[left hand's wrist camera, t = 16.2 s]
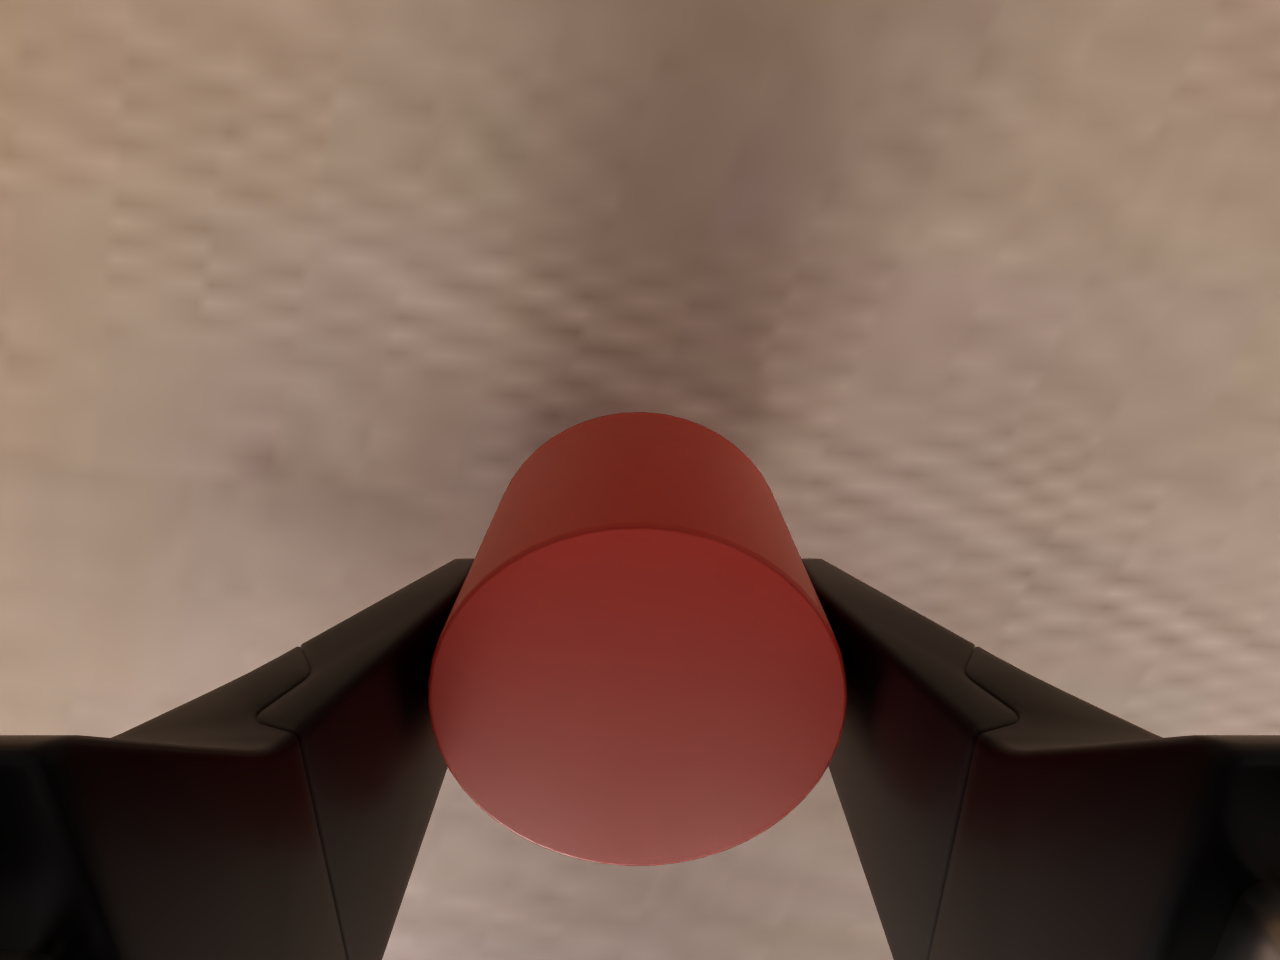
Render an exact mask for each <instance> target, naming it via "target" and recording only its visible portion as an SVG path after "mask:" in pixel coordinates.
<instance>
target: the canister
mask: <svg viewBox="0 0 1280 960" xmlns="http://www.w3.org/2000/svg"><path fill="white" fill-rule="evenodd" d="M428 705H429V711H430V717H431V724H432V729H433V732H434V735H435V738H436V741H437V744H438V747H439V750H440V752H441V754H442V756H443V758H444V760H445V762H446V764H447V766H448V768H449V770H450V771H451V773H452V774H453V776H454V777H455V778H456V780H457V781H458V783H459V784H460V786H461V787H462V788H463V790H464V791H465V792H466V793H467V794H468V795H469V796H470V797H471V798H472V799H473V801H474V802H475V803H476V804H477V805H478V806H479V807H480V808H482V809H483V810H484V811H485V812H486V813H487V814H489V815H490V816H491V817H492V818H493V819H494V820H496V821H497V822H499V823H500V824H502V825H503V826H505V827H506V828H508V829H509V830H511V831H512V832H514V833H515V834H517V835H519V836H521V837H523V838H525V839H527V840H529V841H531V842H533V843H534V844H537V845H539V846H542V847H544V848H547V849H549V850H552V851H554V852H557V853H560V854H564V855H567V856H571V857H574V858H578V859H581V860H587V861H593V862H598V863H604V864H615V865H627V866H643V865H662V864H670V863H679V862H684V861H689V860H693V859H698V858H703V857H706V856H709V855H712V854H715V853H718V852H721V851H725V850H727V849H729V848H732V847H734V846H736V845H739V844H741V843H743V842H745V841H748V840H749V839H751V838H753V837H755V836H756V835H758V834H760V833H762V832H763V831H765V830H767V829H769V828H770V827H771V826H773V825H774V824H775V823H777V822H778V821H779V820H781V819H782V818H784V817H785V816H786V815H788V814H789V813H790V812H791V811H792V810H793V809H794V808H795V807H796V806H797V805H798V804H799V803H800V802H801V801H802V800H804V798H805V797H806V796H807V795H808V794H809V792H810V791H811V790H812V789H813V788H814V786H815V785H816V784H817V783H818V781H819V780H820V778H821V777H822V775H823V773H824V772H825V770H826V768H827V767H828V765H829V764H830V762H831V759H832V757H833V755H834V752H835V750H836V748H837V746H838V743H839V740H840V736H841V733H842V729H843V725H844V721H845V715H846V705H847V682H846V672H845V667H844V663H843V658H842V654H841V650H840V648H839V645H838V643H837V640H836V638H835V635H834V633H833V630H832V628H831V626H830V623H829V621H828V619H827V617H826V614H825V612H824V610H823V607H822V605H821V603H820V601H819V598H818V596H817V594H816V592H815V589H814V587H813V585H812V582H811V580H810V578H809V576H808V573H807V571H806V569H805V567H804V564H803V562H802V560H801V557H800V555H799V553H798V551H797V548H796V546H795V544H794V541H793V539H792V537H791V535H790V532H789V530H788V528H787V526H786V523H785V521H784V519H783V516H782V514H781V512H780V510H779V507H778V505H777V503H776V501H775V498H774V496H773V494H772V491H771V489H770V488H769V486H768V484H767V482H766V481H765V479H764V477H763V476H762V474H761V473H760V471H759V470H758V469H757V468H756V466H755V465H754V464H753V463H752V461H751V460H750V459H749V458H748V457H747V456H746V455H745V454H744V453H743V452H742V451H741V450H739V449H738V448H737V447H736V446H735V445H734V444H732V443H731V442H729V441H728V440H727V439H725V438H724V437H722V436H721V435H719V434H717V433H715V432H714V431H712V430H710V429H708V428H706V427H704V426H702V425H699V424H696V423H694V422H691V421H688V420H686V419H682V418H678V417H674V416H669V415H665V414H656V413H646V412H640V413H620V414H614V415H607V416H602V417H599V418H595V419H592V420H588V421H585V422H582V423H580V424H578V425H575V426H573V427H571V428H568V429H566V430H565V431H563V432H561V433H560V434H558V435H556V436H555V437H553V438H551V439H550V440H549V441H547V442H546V443H545V444H543V445H542V446H541V447H540V448H538V449H537V450H536V451H535V452H534V453H533V454H532V455H531V456H530V457H529V458H528V459H527V460H526V461H525V462H524V463H523V464H522V466H521V467H520V469H519V470H518V471H517V473H516V474H515V476H514V477H513V478H512V480H511V482H510V484H509V486H508V488H507V490H506V492H505V494H504V496H503V498H502V500H501V502H500V504H499V507H498V509H497V511H496V513H495V515H494V518H493V520H492V522H491V524H490V526H489V529H488V531H487V533H486V535H485V537H484V540H483V542H482V544H481V546H480V548H479V551H478V553H477V555H476V557H475V560H474V562H473V564H472V566H471V568H470V571H469V573H468V575H467V577H466V579H465V582H464V584H463V586H462V588H461V590H460V593H459V595H458V597H457V599H456V601H455V604H454V606H453V608H452V610H451V612H450V615H449V617H448V619H447V621H446V624H445V626H444V628H443V630H442V632H441V635H440V637H439V640H438V643H437V646H436V649H435V652H434V655H433V658H432V662H431V668H430V675H429V681H428Z"/></svg>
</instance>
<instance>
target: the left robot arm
mask: <svg viewBox="0 0 1280 960" xmlns="http://www.w3.org/2000/svg"><path fill="white" fill-rule="evenodd" d="M474 560H475V559H455V560H453V561H451V562H449V563H447V564H446V565H444V566H442V567H440V568H438V569H437V570H435V571H433V572H431V573H429V574H428V575H426V576H424V577H422V578H420V579H419V580H417V581H415V582H413V583H411V584H409V585H408V586H406V587H404V588H402V589H400V590H399V591H397V592H395V593H393V594H391V595H390V596H388V597H386V598H384V599H382V600H381V601H379V602H377V603H375V604H373V605H372V606H370V607H368V608H366V609H364V610H363V611H361V612H359V613H357V614H355V615H354V616H352V617H350V618H348V619H346V620H345V621H343V622H341V623H339V624H337V625H336V626H334V627H332V628H330V629H328V630H327V631H325V632H323V633H321V634H319V635H318V636H316V637H314V638H312V639H310V640H309V641H307V642H305V643H303V644H302V645H301V647H296V648H294V649H292V650H290V651H289V652H287V653H285V654H283V655H281V656H280V657H278V658H276V659H274V660H272V661H270V662H268V663H267V664H265V665H263V666H261V667H259V668H257V669H255V670H253V671H251V672H250V673H248V674H246V675H244V676H242V677H240V678H237V679H235V680H233V681H231V682H229V683H227V684H225V685H223V686H221V687H219V688H217V689H215V690H213V691H211V692H209V693H207V694H204V695H202V696H200V697H198V698H196V699H194V700H192V701H190V702H187V703H185V704H183V705H181V706H179V707H177V708H175V709H173V710H170V711H168V712H166V713H164V714H162V715H160V716H158V717H156V718H154V719H151V720H149V721H147V722H145V723H143V724H141V725H139V726H137V727H134V728H132V729H130V730H128V731H126V732H124V733H122V734H119V735H117V736H114V737H112V738H103V737H92V736H79V735H0V960H382V958H383V955H384V952H385V949H386V946H387V943H388V940H389V937H390V934H391V931H392V929H393V926H394V923H395V920H396V917H397V914H398V911H399V908H400V905H401V902H402V899H403V896H404V893H405V890H406V888H407V885H408V882H409V879H410V876H411V873H412V870H413V867H414V864H415V861H416V858H417V855H418V852H419V849H420V847H421V844H422V841H423V838H424V835H425V832H426V829H427V826H428V823H429V820H430V817H431V814H432V811H433V808H434V806H435V803H436V800H437V797H438V794H439V791H440V788H441V785H442V782H443V779H444V776H445V773H446V770H447V767H448V766H447V764H446V762H445V760H444V758H443V756H442V754H441V752H440V750H439V747H438V744H437V741H436V738H435V735H434V732H433V729H432V724H431V717H430V711H429V705H428V681H429V675H430V668H431V662H432V658H433V655H434V652H435V649H436V646H437V643H438V640H439V637H440V635H441V632H442V630H443V628H444V626H445V624H446V621H447V619H448V617H449V615H450V612H451V610H452V608H453V606H454V604H455V601H456V599H457V597H458V595H459V593H460V590H461V588H462V586H463V584H464V582H465V579H466V577H467V575H468V573H469V571H470V568H471V566H472V564H473V562H474ZM801 560H802V562H803V564H804V567H805V569H806V571H807V573H808V576H809V578H810V580H811V582H812V585H813V587H814V589H815V592H816V594H817V596H818V598H819V601H820V603H821V605H822V607H823V610H824V612H825V614H826V617H827V619H828V621H829V623H830V626H831V628H832V630H833V633H834V635H835V638H836V640H837V643H838V645H839V648H840V650H841V654H842V658H843V663H844V667H845V672H846V682H847V705H846V715H845V721H844V725H843V729H842V733H841V736H840V740H839V743H838V746H837V748H836V750H835V752H834V755H833V757H832V759H831V762H830V764H829V765H828V766H829V769H830V772H831V775H832V778H833V781H834V784H835V787H836V790H837V793H838V796H839V799H840V802H841V805H842V807H843V810H844V813H845V816H846V819H847V822H848V825H849V828H850V831H851V834H852V837H853V840H854V843H855V846H856V849H857V852H858V855H859V858H860V861H861V864H862V867H863V870H864V873H865V876H866V879H867V882H868V884H869V887H870V890H871V893H872V896H873V899H874V902H875V905H876V908H877V911H878V914H879V917H880V920H881V923H882V926H883V929H884V932H885V935H886V938H887V941H888V944H889V947H890V950H891V953H892V956H893V959H894V960H1280V735H1193V736H1180V737H1169V738H1162V737H1160V736H1158V735H1155V734H1153V733H1151V732H1149V731H1146V730H1144V729H1142V728H1140V727H1138V726H1136V725H1134V724H1132V723H1130V722H1127V721H1125V720H1123V719H1121V718H1119V717H1117V716H1115V715H1113V714H1111V713H1109V712H1106V711H1104V710H1102V709H1100V708H1098V707H1096V706H1094V705H1092V704H1090V703H1087V702H1085V701H1083V700H1081V699H1079V698H1077V697H1075V696H1073V695H1071V694H1068V693H1066V692H1064V691H1062V690H1060V689H1058V688H1056V687H1054V686H1052V685H1050V684H1048V683H1046V682H1044V681H1042V680H1040V679H1038V678H1036V677H1034V676H1032V675H1030V674H1028V673H1026V672H1024V671H1022V670H1020V669H1018V668H1016V667H1015V666H1013V665H1011V664H1009V663H1007V662H1005V661H1003V660H1001V659H1000V658H998V657H996V656H994V655H992V654H991V653H989V652H987V651H985V650H984V649H982V648H980V647H975V645H974V644H973V643H971V642H969V641H967V640H965V639H964V638H962V637H960V636H958V635H956V634H955V633H953V632H951V631H949V630H948V629H946V628H944V627H942V626H940V625H939V624H937V623H935V622H933V621H931V620H930V619H928V618H926V617H924V616H922V615H921V614H919V613H917V612H915V611H914V610H912V609H910V608H908V607H906V606H905V605H903V604H901V603H899V602H897V601H896V600H894V599H892V598H890V597H888V596H887V595H885V594H883V593H881V592H880V591H878V590H876V589H874V588H872V587H871V586H869V585H867V584H865V583H863V582H862V581H860V580H858V579H856V578H855V577H853V576H851V575H849V574H847V573H846V572H844V571H842V570H840V569H838V568H837V567H835V566H833V565H831V564H830V563H828V562H826V561H824V560H822V559H801Z"/></svg>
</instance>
